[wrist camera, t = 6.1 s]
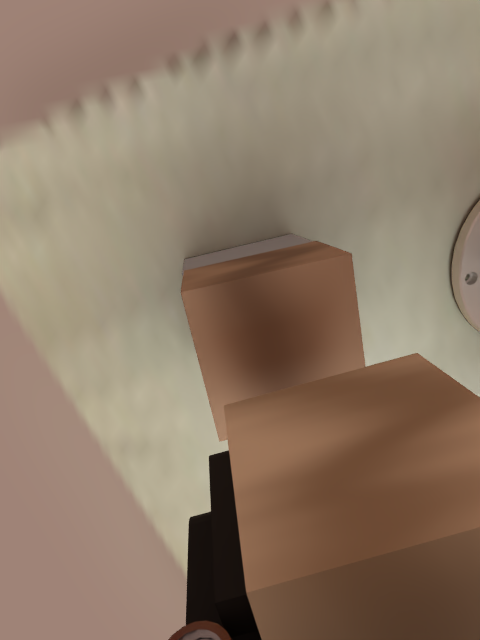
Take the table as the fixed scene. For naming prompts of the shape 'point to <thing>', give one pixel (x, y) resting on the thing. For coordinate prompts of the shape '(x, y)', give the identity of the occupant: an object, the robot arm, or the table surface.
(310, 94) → the table surface
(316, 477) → the oak cube
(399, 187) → the table surface
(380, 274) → the table surface
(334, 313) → the top block
